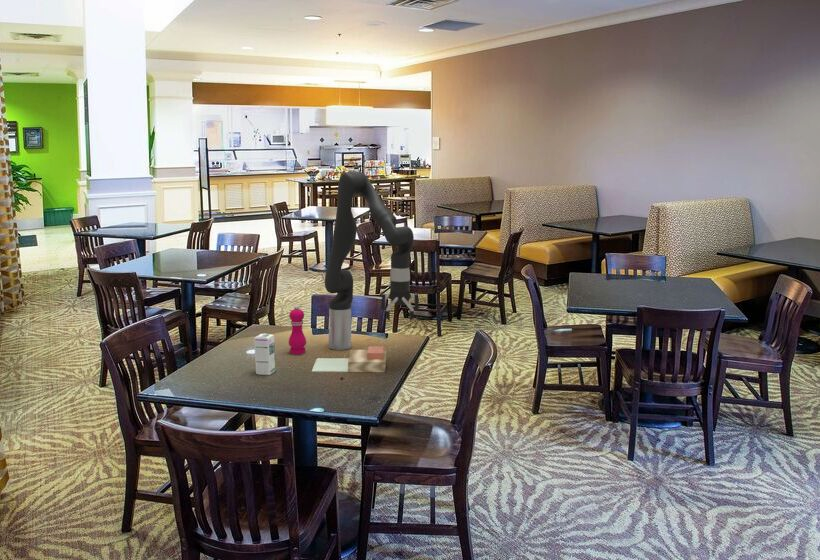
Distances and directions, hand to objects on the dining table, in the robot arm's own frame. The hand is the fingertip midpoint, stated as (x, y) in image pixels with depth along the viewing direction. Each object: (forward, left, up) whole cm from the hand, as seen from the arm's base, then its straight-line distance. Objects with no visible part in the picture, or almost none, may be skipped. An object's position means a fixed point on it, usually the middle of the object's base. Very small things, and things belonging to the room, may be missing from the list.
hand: (399, 320), depth 266 cm
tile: (-9, 0, -13) cm, 16 cm away
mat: (-26, 0, -18) cm, 32 cm away
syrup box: (-50, -9, -18) cm, 55 cm away
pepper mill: (-43, +17, -18) cm, 49 cm away
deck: (-12, 0, -18) cm, 22 cm away
